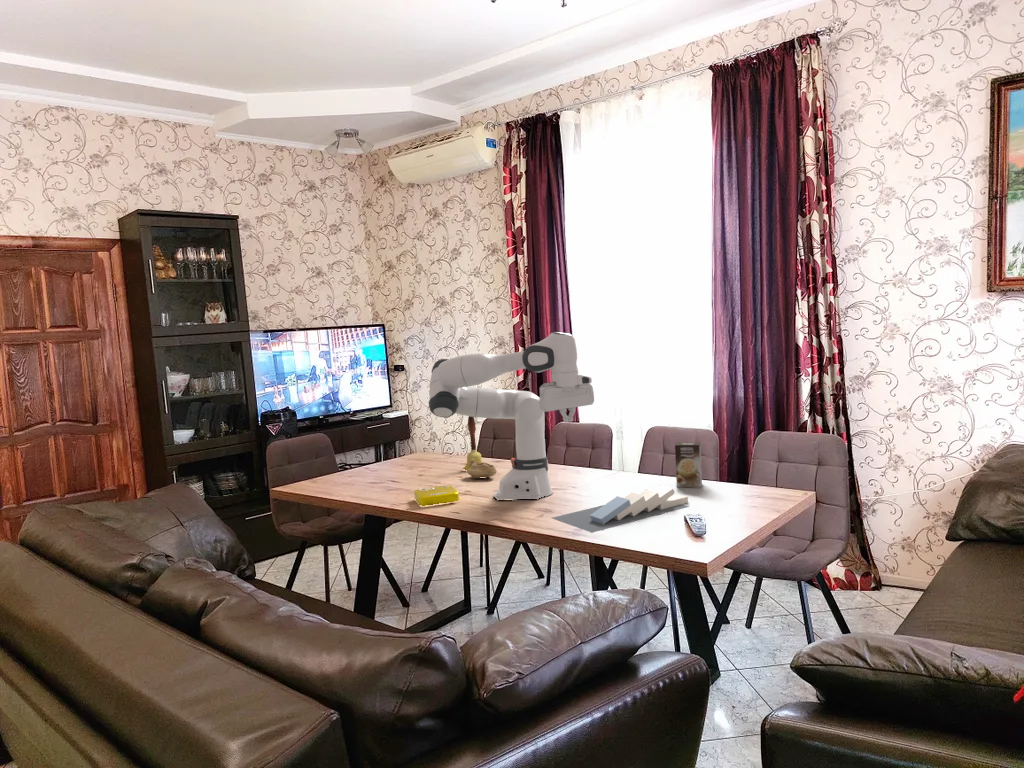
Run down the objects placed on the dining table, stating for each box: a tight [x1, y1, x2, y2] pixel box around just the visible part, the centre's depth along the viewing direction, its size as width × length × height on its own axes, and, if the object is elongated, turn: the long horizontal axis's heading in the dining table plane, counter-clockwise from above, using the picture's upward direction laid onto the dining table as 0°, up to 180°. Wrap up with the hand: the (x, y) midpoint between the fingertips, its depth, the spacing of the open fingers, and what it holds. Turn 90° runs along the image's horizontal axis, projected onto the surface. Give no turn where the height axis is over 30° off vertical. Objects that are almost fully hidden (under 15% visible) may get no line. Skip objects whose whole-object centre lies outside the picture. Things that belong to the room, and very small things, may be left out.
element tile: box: [414, 484, 460, 506], centre depth 266 cm, size 15×15×5 cm
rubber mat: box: [551, 504, 690, 534], centre depth 228 cm, size 40×22×1 cm, turn 121°
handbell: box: [462, 416, 483, 470], centre depth 320 cm, size 12×12×25 cm
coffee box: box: [674, 441, 703, 488], centre depth 260 cm, size 9×6×16 cm
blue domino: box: [590, 496, 631, 525], centre depth 221 cm, size 2×6×12 cm
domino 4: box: [655, 493, 689, 509], centre depth 233 cm, size 2×6×12 cm
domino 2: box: [627, 489, 660, 517], centre depth 227 cm, size 2×6×12 cm
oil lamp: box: [466, 459, 498, 479], centre depth 301 cm, size 11×15×8 cm
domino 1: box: [612, 492, 646, 520], centre depth 224 cm, size 2×6×12 cm
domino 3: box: [644, 485, 676, 512], centre depth 230 cm, size 2×6×12 cm
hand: (568, 421), depth 233 cm, fingers closed
